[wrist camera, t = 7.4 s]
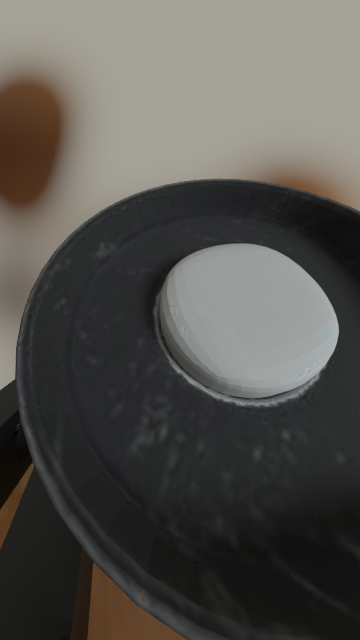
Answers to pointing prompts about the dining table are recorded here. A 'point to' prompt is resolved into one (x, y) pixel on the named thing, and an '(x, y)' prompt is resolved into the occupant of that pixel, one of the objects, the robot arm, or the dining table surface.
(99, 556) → the travel mug
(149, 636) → the dining table surface
